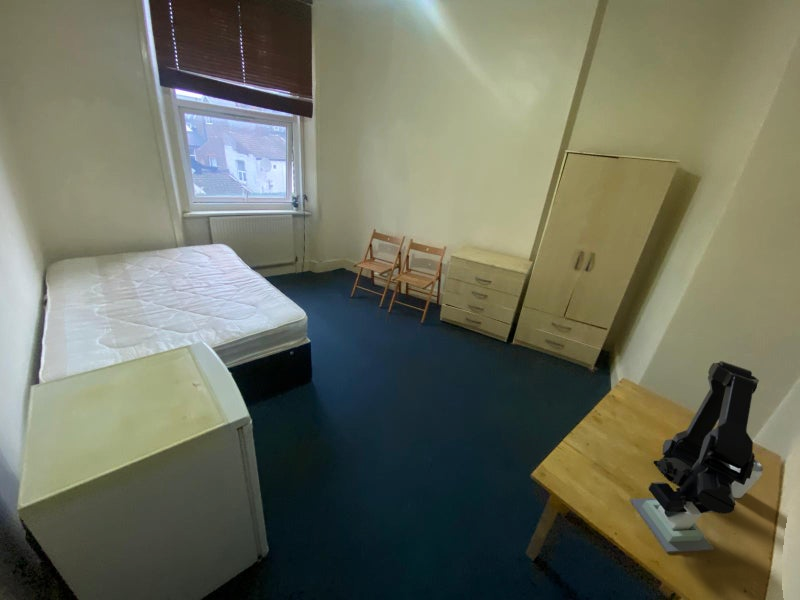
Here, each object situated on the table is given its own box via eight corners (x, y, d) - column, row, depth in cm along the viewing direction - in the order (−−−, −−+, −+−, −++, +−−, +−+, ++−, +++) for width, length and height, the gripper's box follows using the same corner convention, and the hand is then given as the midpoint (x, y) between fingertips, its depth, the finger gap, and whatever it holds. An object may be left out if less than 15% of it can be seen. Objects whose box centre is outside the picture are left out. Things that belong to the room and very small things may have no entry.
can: (707, 478, 101) (728, 452, 95) (726, 478, 101) (748, 452, 96) (728, 499, 95) (751, 472, 90) (747, 498, 96) (771, 472, 90)
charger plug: (672, 509, 89) (687, 490, 85) (688, 529, 84) (704, 510, 80) (656, 510, 88) (670, 491, 84) (671, 530, 84) (687, 511, 80)
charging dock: (670, 498, 94) (675, 492, 92) (712, 550, 82) (719, 543, 81) (629, 500, 92) (633, 493, 91) (666, 552, 81) (672, 545, 79)
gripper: (708, 447, 86) (681, 484, 93) (645, 448, 84) (622, 486, 91) (752, 488, 77) (717, 525, 84) (682, 490, 74) (652, 529, 82)
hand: (675, 514), depth 85 cm, fingers closed on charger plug, 5 cm apart
